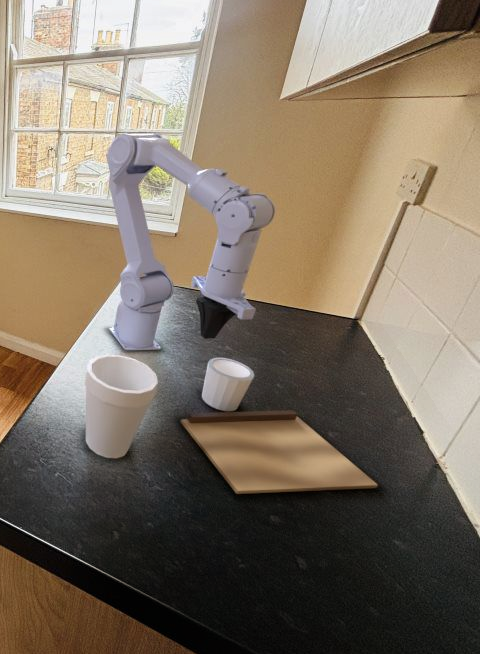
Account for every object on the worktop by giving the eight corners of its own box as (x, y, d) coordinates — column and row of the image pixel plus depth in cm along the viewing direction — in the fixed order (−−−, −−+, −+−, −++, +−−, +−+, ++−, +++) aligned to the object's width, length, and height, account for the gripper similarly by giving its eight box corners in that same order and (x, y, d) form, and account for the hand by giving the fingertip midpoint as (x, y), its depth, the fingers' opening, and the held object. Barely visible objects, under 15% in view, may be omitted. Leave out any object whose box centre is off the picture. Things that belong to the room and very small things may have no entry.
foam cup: (151, 462, 58) (172, 390, 53) (91, 470, 57) (106, 396, 51) (119, 418, 67) (133, 352, 61) (66, 424, 65) (76, 356, 60)
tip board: (180, 422, 66) (182, 413, 66) (295, 418, 68) (299, 409, 67) (236, 494, 54) (240, 484, 53) (376, 488, 55) (382, 478, 54)
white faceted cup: (248, 416, 68) (262, 382, 65) (204, 410, 69) (216, 376, 66) (233, 391, 74) (244, 359, 71) (193, 386, 75) (202, 354, 72)
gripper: (283, 283, 62) (256, 357, 68) (224, 254, 76) (205, 318, 81) (240, 283, 62) (216, 358, 68) (188, 254, 75) (171, 319, 81)
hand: (207, 336), depth 75 cm, fingers closed
